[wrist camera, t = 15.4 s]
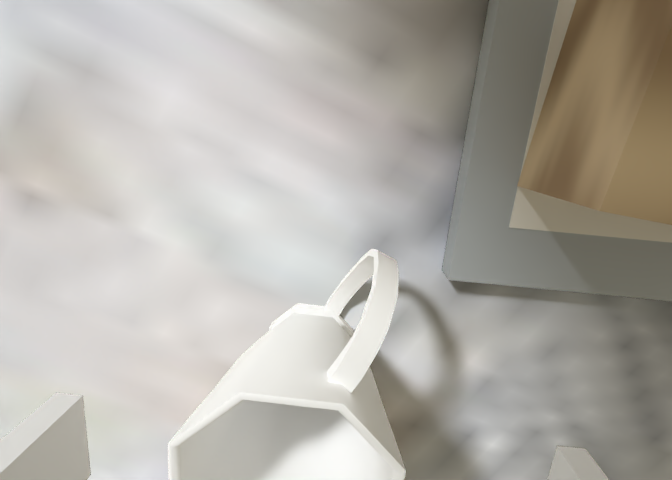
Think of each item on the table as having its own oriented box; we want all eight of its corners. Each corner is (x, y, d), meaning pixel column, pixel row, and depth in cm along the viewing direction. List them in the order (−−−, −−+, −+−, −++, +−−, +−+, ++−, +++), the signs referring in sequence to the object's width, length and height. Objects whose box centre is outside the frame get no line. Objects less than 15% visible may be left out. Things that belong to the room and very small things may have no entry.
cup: (217, 366, 19) (123, 530, 11) (308, 191, 16) (270, 243, 8) (340, 425, 19) (334, 618, 12) (446, 266, 17) (529, 377, 9)
